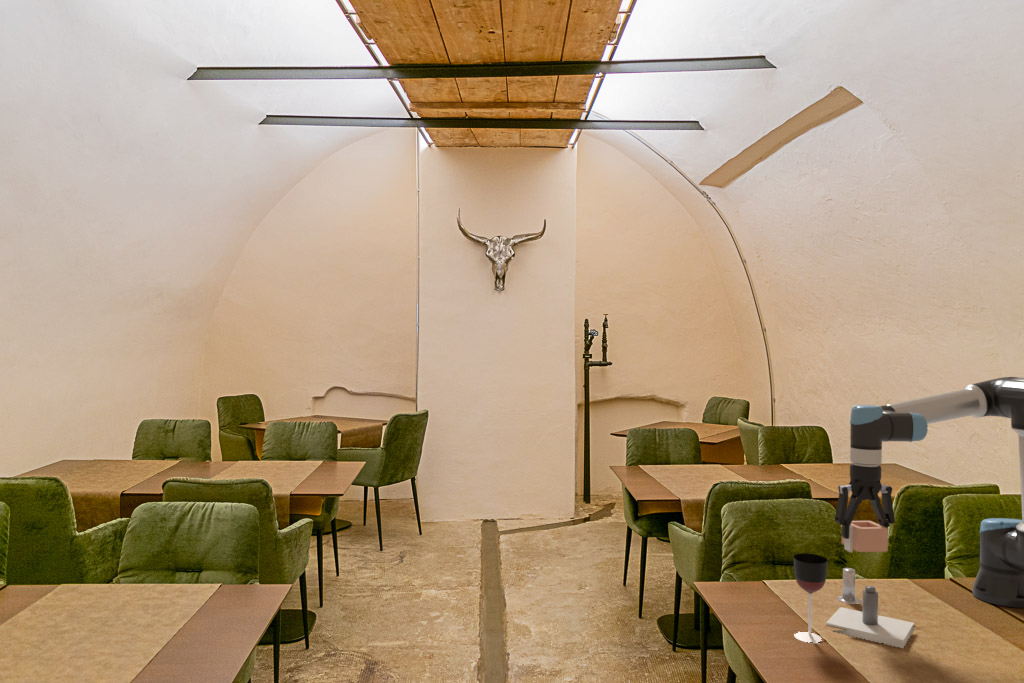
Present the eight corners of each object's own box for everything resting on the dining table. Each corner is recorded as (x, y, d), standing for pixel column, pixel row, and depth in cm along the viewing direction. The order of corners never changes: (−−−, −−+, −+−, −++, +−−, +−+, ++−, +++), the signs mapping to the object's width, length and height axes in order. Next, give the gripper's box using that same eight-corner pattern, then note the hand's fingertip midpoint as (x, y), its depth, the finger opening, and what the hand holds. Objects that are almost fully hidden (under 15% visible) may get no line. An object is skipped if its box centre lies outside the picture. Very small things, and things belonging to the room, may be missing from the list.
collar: (869, 542, 201) (870, 520, 201) (887, 551, 193) (887, 528, 193) (841, 543, 201) (841, 521, 201) (858, 552, 193) (858, 528, 193)
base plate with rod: (914, 630, 193) (914, 587, 193) (903, 648, 182) (903, 602, 182) (840, 614, 204) (840, 573, 204) (825, 630, 193) (826, 587, 193)
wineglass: (825, 632, 192) (826, 555, 191) (828, 646, 184) (828, 565, 183) (792, 628, 194) (793, 552, 194) (793, 641, 186) (794, 561, 186)
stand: (864, 604, 212) (864, 569, 212) (858, 611, 207) (858, 575, 207) (839, 599, 216) (839, 564, 216) (833, 605, 211) (833, 570, 211)
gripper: (894, 461, 202) (892, 545, 202) (820, 461, 199) (819, 546, 200) (911, 466, 194) (910, 553, 194) (835, 467, 192) (834, 555, 192)
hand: (864, 550), depth 197 cm, fingers closed on collar, 8 cm apart
